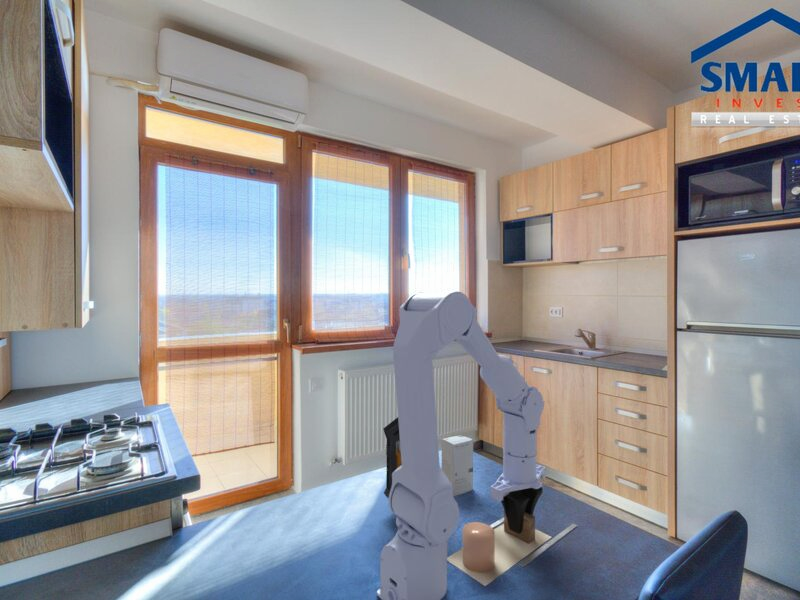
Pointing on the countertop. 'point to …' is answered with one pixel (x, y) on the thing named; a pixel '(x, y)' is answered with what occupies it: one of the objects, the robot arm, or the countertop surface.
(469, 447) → the skincare box
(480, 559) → the tan rounded piece
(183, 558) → the countertop surface
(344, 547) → the countertop surface
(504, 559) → the beige board with block
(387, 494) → the canister
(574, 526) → the guide rails
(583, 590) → the countertop surface
